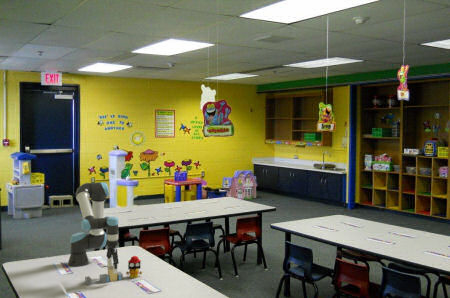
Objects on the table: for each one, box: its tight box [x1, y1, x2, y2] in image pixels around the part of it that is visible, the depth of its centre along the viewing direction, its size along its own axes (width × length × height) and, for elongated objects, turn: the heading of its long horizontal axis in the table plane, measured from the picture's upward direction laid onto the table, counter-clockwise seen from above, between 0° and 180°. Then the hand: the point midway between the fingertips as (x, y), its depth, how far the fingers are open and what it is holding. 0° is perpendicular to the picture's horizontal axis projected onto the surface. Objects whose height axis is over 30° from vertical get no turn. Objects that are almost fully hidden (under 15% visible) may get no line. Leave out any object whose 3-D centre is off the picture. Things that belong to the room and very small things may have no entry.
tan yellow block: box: [107, 265, 117, 282], centre depth 307 cm, size 5×5×9 cm
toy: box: [125, 255, 143, 279], centre depth 317 cm, size 11×9×15 cm
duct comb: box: [84, 271, 124, 286], centre depth 304 cm, size 6×24×5 cm, turn 121°
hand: (112, 270), depth 308 cm, fingers open, 13 cm apart
